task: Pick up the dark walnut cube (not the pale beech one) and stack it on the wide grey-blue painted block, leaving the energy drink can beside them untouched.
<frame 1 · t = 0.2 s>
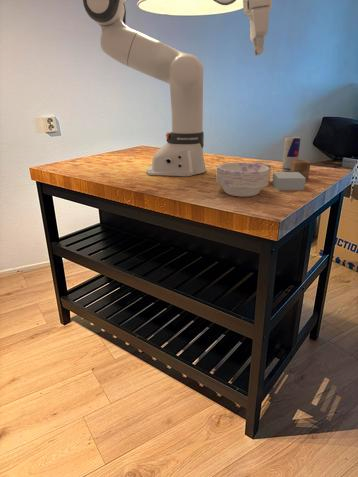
hand: (258, 54, 117), 39 cm above the table, tool pointing down, fingers open, 8 cm apart
beech block: (258, 182, 117), on the table
walnut block: (298, 179, 120), on the table
base block: (287, 187, 111), on the table
energy drink: (289, 170, 132), on the table
paper bowls: (241, 193, 106), on the table
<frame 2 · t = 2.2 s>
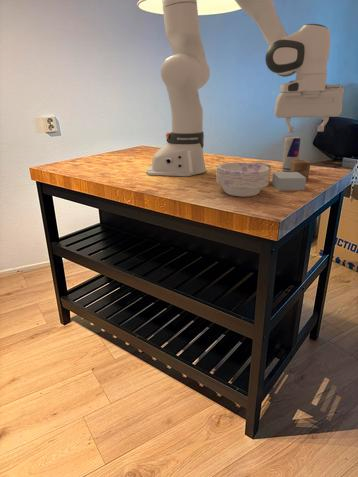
hand: (305, 131, 114), 15 cm above the table, tool pointing down, fingers open, 8 cm apart
nothing on the table moved.
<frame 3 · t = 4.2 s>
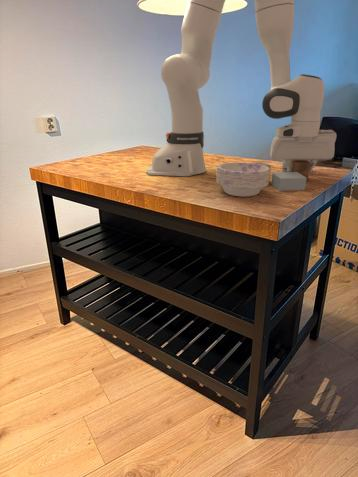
hand: (299, 172, 119), 2 cm above the table, tool pointing down, fingers closed on walnut block, 5 cm apart
walnut block: (298, 178, 120), on the table, touching gripper
everything else where it was.
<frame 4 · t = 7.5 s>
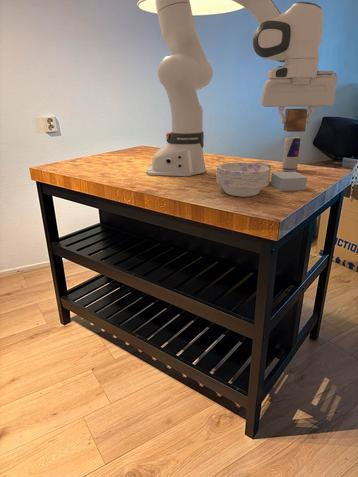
hand: (294, 123, 104), 19 cm above the table, tool pointing down, fingers closed on walnut block, 5 cm apart
walnut block: (294, 130, 105), point 17 cm above the table, touching gripper
everything else where it was.
when the fingers open (7 cm above the table, at t = 10.4 s): walnut block drops 1 cm, point 4 cm above the table.
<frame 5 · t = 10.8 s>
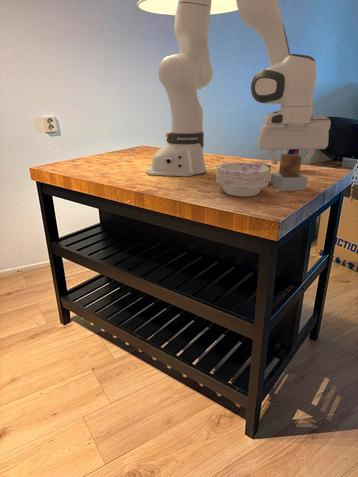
hand: (290, 164, 108), 7 cm above the table, tool pointing down, fingers open, 8 cm apart
walnut block: (288, 175, 110), point 4 cm above the table
everything else where it was.
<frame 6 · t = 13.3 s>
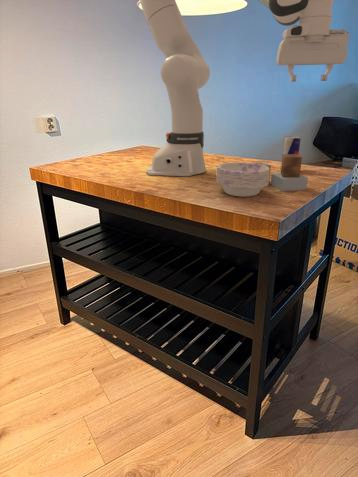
hand: (308, 81, 110), 30 cm above the table, tool pointing down, fingers open, 8 cm apart
nothing on the table moved.
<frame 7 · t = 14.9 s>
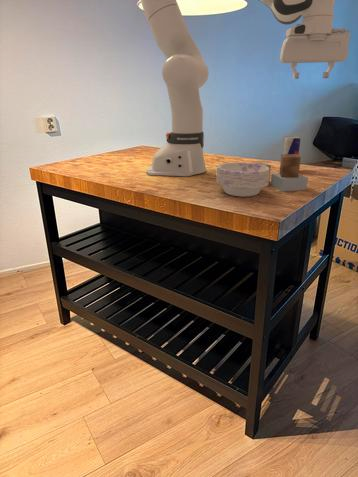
hand: (310, 78, 114), 31 cm above the table, tool pointing down, fingers open, 8 cm apart
nothing on the table moved.
at the end: walnut block 0.3 cm off-centre on the base block, point 4.0 cm above the base block's base; walnut block tilted 0°; the gripper is holding nothing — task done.
